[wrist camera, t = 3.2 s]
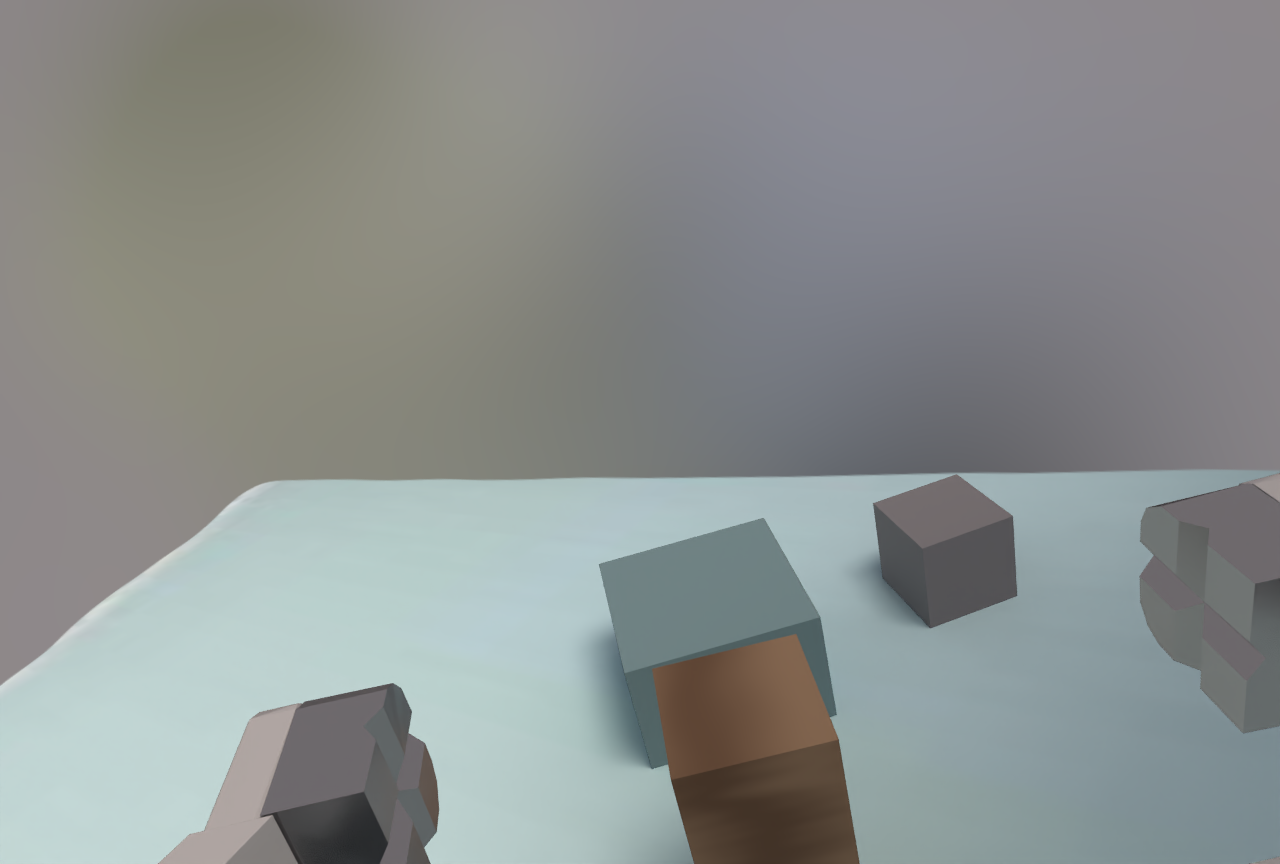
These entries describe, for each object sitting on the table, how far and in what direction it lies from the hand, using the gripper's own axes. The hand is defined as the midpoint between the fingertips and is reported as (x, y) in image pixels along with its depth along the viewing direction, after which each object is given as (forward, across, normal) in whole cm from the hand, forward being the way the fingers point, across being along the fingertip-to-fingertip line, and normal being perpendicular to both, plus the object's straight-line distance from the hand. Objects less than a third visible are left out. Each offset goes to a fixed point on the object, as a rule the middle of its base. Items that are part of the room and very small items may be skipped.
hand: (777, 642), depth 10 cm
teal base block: (+30, 0, +26) cm, 40 cm away
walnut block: (+15, 0, +26) cm, 30 cm away
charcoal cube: (+33, -13, +26) cm, 44 cm away
